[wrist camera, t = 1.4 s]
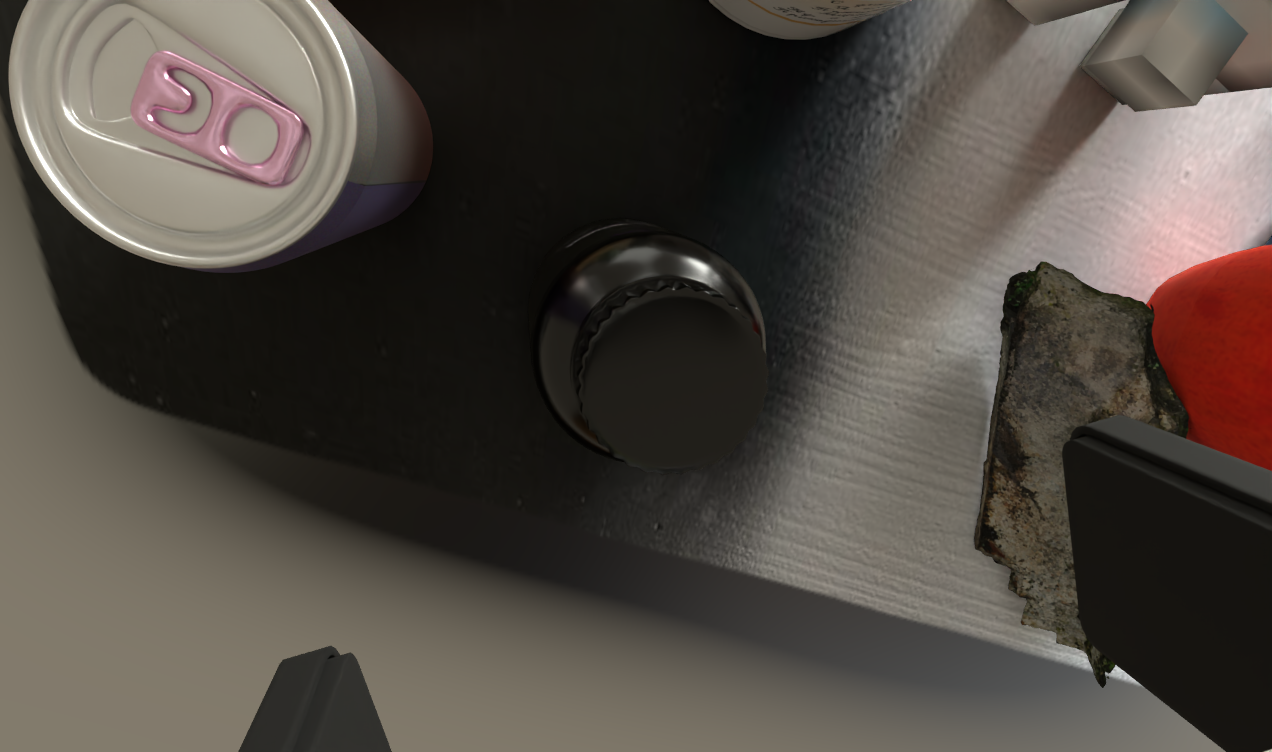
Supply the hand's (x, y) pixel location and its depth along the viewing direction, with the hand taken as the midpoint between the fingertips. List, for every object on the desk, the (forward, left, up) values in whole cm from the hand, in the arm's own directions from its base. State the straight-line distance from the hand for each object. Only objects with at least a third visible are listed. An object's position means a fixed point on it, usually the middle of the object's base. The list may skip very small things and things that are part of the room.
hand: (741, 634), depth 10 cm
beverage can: (-6, +9, -22) cm, 24 cm away
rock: (+21, -9, -15) cm, 27 cm away
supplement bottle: (+1, 0, -22) cm, 22 cm away
